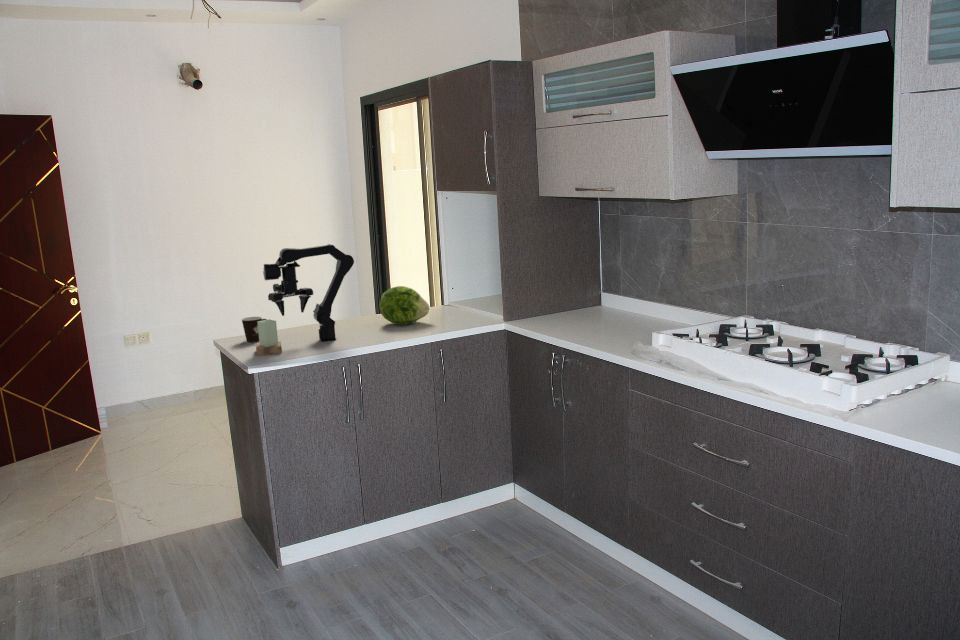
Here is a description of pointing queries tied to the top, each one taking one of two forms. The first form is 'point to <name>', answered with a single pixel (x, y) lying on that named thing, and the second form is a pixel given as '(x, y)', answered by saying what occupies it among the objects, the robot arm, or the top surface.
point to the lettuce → (403, 305)
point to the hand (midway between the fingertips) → (292, 314)
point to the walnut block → (268, 349)
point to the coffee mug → (251, 328)
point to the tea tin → (267, 333)
